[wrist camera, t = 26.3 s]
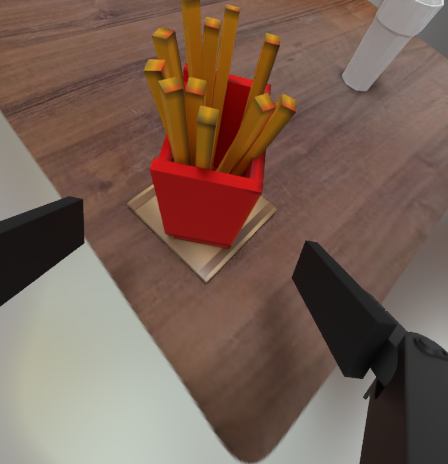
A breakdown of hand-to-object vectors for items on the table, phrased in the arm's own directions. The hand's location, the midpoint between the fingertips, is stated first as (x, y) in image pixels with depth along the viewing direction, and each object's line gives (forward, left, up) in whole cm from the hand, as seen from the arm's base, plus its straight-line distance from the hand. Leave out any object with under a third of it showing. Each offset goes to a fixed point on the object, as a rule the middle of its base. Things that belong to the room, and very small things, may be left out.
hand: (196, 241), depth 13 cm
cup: (+42, +4, -9) cm, 43 cm away
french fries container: (+6, +4, -8) cm, 11 cm away
